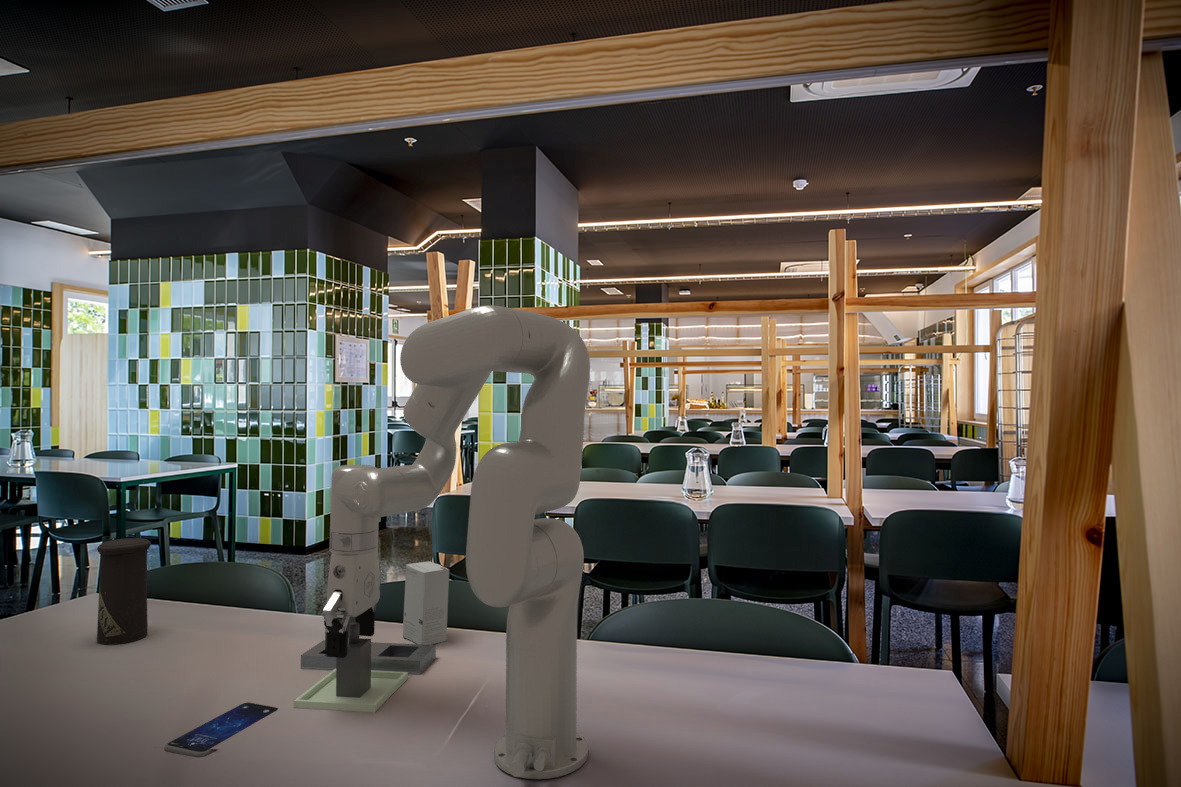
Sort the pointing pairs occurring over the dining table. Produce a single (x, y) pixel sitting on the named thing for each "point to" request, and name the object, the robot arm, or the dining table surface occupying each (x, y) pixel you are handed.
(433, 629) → the skincare box
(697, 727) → the dining table surface
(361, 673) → the plug
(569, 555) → the robot arm
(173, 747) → the smartphone
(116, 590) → the container
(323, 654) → the grey two-slot holder
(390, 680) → the tray
